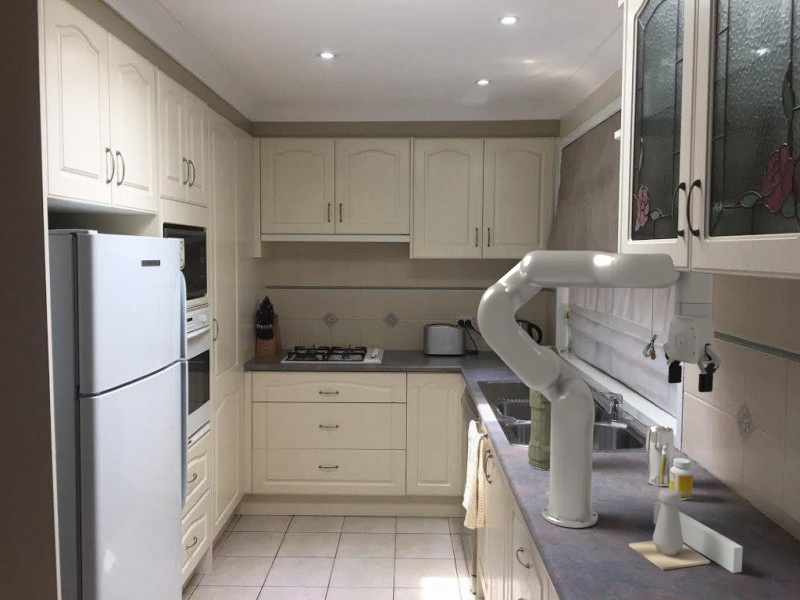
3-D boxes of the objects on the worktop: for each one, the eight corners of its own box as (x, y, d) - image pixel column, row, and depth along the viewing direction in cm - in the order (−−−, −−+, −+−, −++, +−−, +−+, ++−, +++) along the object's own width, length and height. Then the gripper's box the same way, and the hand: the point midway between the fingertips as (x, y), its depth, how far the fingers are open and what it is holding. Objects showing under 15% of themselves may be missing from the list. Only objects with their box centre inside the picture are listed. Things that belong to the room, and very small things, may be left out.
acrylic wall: (653, 523, 150) (654, 502, 150) (661, 522, 150) (661, 501, 150) (733, 573, 127) (734, 548, 126) (741, 571, 127) (742, 546, 127)
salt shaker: (667, 560, 131) (670, 497, 130) (646, 548, 136) (648, 487, 135) (689, 554, 133) (691, 492, 132) (667, 543, 138) (669, 483, 137)
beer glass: (659, 477, 180) (661, 424, 179) (678, 486, 174) (680, 431, 173) (638, 480, 178) (640, 426, 177) (656, 489, 171) (658, 433, 170)
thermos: (531, 472, 184) (533, 349, 182) (525, 458, 196) (528, 343, 193) (562, 472, 184) (565, 349, 181) (555, 459, 195) (558, 343, 193)
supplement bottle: (665, 496, 166) (666, 459, 166) (675, 491, 170) (676, 455, 169) (686, 502, 162) (687, 465, 162) (695, 497, 166) (697, 460, 165)
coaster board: (629, 545, 138) (629, 543, 138) (673, 539, 141) (673, 537, 141) (663, 570, 128) (663, 567, 128) (709, 563, 131) (710, 560, 131)
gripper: (652, 307, 151) (650, 380, 152) (706, 314, 134) (703, 396, 136) (680, 307, 153) (677, 379, 154) (736, 314, 136) (733, 394, 138)
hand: (689, 387), depth 145 cm, fingers open, 9 cm apart
